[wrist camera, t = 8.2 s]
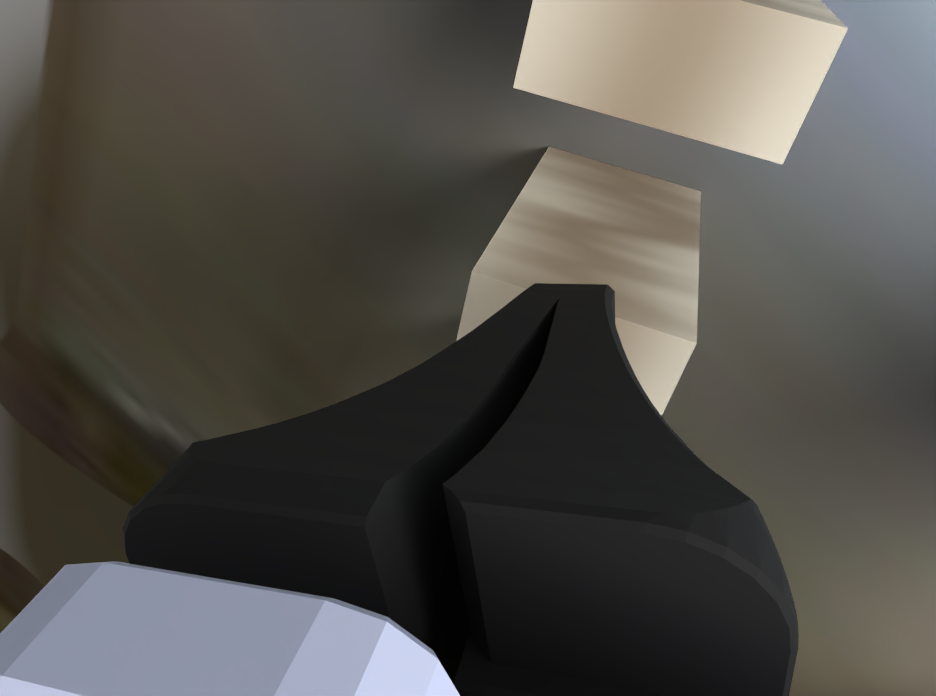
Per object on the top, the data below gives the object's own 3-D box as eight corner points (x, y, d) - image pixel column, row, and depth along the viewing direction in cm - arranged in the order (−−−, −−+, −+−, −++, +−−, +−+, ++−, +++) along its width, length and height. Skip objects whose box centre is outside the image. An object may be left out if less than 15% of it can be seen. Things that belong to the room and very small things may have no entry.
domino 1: (793, -29, 16) (847, 28, 10) (755, 60, 17) (781, 164, 11) (608, -75, 17) (544, -51, 10) (584, 14, 18) (512, 87, 11)
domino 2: (700, 191, 19) (696, 343, 13) (674, 254, 20) (658, 421, 14) (548, 146, 20) (471, 271, 13) (531, 210, 21) (453, 352, 15)
